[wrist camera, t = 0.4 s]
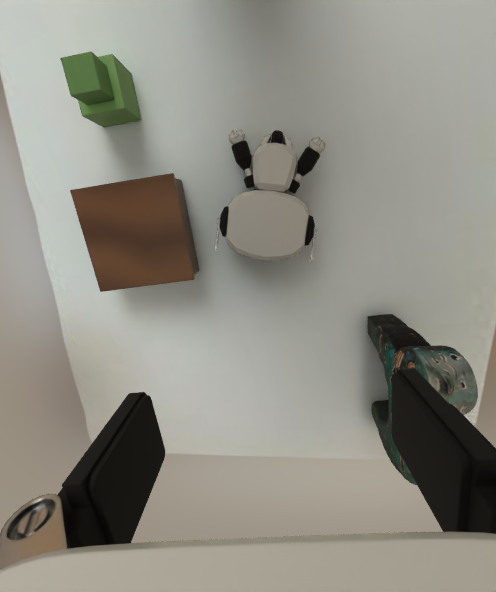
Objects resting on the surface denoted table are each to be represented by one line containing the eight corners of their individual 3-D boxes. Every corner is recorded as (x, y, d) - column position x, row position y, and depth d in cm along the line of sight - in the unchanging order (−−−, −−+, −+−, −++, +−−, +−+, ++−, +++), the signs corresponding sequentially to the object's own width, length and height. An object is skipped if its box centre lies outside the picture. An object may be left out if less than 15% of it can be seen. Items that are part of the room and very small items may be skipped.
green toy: (91, 81, 34) (48, 48, 27) (131, 73, 34) (97, 37, 27) (103, 127, 36) (65, 107, 29) (141, 120, 35) (111, 98, 28)
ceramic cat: (359, 305, 40) (445, 390, 21) (406, 300, 40) (538, 383, 21) (362, 421, 46) (432, 571, 27) (403, 418, 45) (505, 569, 26)
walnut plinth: (91, 192, 38) (69, 190, 34) (183, 177, 37) (172, 173, 33) (117, 283, 41) (100, 291, 37) (201, 272, 40) (194, 279, 36)
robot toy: (228, 133, 36) (218, 253, 39) (223, 119, 31) (212, 255, 35) (325, 143, 36) (307, 263, 39) (334, 131, 31) (313, 267, 34)
